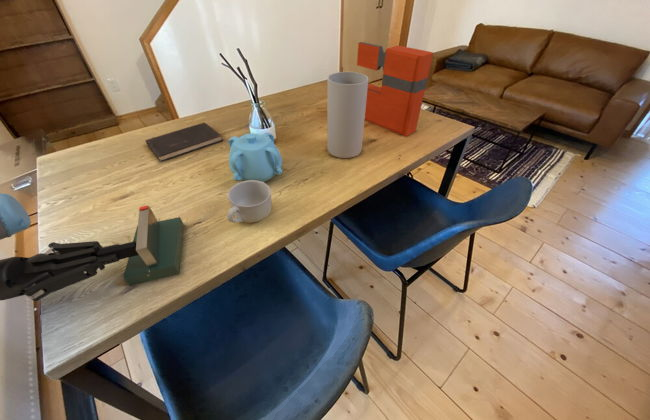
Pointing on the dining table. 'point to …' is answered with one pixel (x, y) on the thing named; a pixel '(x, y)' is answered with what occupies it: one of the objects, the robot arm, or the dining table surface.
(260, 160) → the decorative pot
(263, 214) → the teacup
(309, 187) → the dining table surface
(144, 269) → the green block
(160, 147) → the hardcover book
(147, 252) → the red-tipped metal bar
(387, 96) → the clamp
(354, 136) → the cylinder vase
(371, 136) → the dining table surface
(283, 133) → the dining table surface
